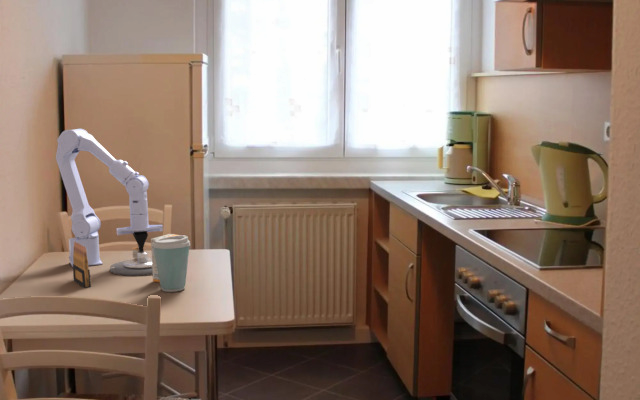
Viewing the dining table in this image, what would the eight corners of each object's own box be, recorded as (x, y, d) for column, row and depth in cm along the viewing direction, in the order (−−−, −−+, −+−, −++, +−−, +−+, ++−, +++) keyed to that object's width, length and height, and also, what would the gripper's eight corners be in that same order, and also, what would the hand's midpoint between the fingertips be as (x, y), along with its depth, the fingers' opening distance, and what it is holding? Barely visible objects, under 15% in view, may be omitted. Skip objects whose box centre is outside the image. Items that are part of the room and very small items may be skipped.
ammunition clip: (73, 280, 230) (71, 241, 228) (79, 279, 231) (77, 240, 229) (84, 288, 221) (82, 247, 219) (90, 287, 222) (88, 246, 220)
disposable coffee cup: (155, 295, 212) (153, 242, 210) (152, 286, 222) (150, 235, 220) (194, 292, 215) (192, 239, 213) (189, 283, 225) (187, 232, 223)
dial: (167, 265, 242) (166, 253, 242) (129, 270, 236) (128, 257, 236) (153, 257, 255) (152, 245, 254) (117, 261, 249) (116, 249, 248)
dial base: (115, 278, 232) (115, 274, 231) (106, 265, 250) (106, 261, 250) (181, 271, 239) (181, 267, 239) (167, 259, 258) (167, 255, 257)
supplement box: (170, 275, 235) (169, 233, 233) (182, 277, 232) (181, 234, 230) (151, 281, 228) (149, 238, 226) (164, 283, 225) (162, 239, 223)
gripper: (158, 210, 255) (160, 250, 257) (114, 213, 249) (116, 254, 251) (163, 213, 248) (165, 254, 250) (117, 216, 243) (120, 258, 244)
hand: (141, 254), depth 250 cm, fingers closed, pressing on dial
